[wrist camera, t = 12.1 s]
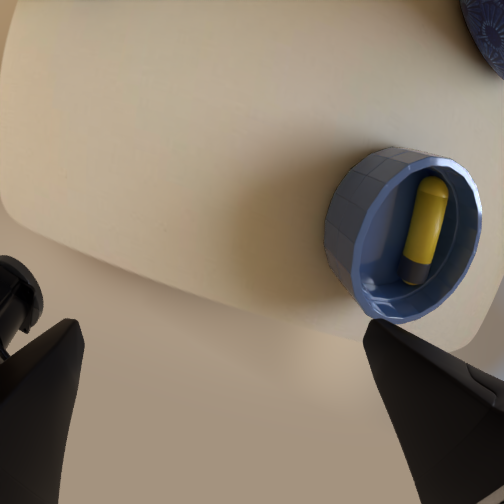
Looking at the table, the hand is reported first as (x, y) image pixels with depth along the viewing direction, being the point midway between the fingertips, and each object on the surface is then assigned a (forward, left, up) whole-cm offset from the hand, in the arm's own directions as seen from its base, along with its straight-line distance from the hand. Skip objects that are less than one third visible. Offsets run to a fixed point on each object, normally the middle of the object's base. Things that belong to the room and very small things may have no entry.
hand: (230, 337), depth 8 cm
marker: (+7, -13, -10) cm, 18 cm away
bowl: (+6, -12, -12) cm, 18 cm away
